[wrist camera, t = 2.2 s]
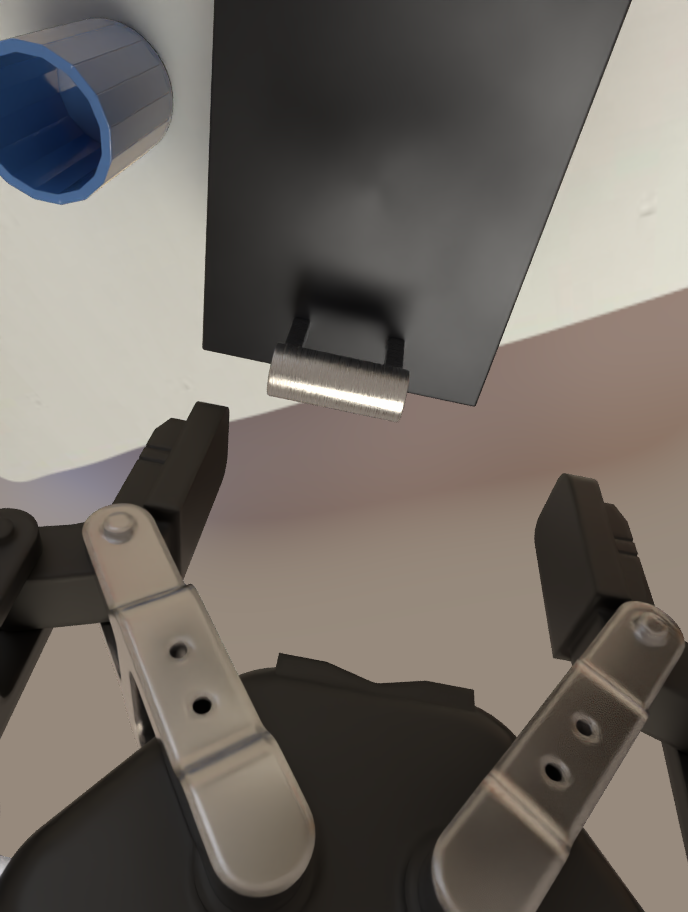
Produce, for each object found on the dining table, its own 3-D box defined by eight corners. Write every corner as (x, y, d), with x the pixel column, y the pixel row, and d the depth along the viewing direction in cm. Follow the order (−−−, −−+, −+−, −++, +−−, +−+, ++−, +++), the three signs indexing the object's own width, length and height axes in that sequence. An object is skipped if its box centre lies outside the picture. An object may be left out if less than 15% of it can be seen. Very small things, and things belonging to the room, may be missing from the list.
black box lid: (474, 397, 29) (481, 476, 24) (206, 341, 28) (167, 410, 24) (653, -75, 18) (720, -77, 14) (227, -175, 18) (163, -208, 13)
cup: (62, 141, 34) (-21, 187, 27) (47, 4, 30) (-54, 23, 24) (173, 165, 34) (115, 217, 28) (173, 33, 30) (106, 59, 24)
